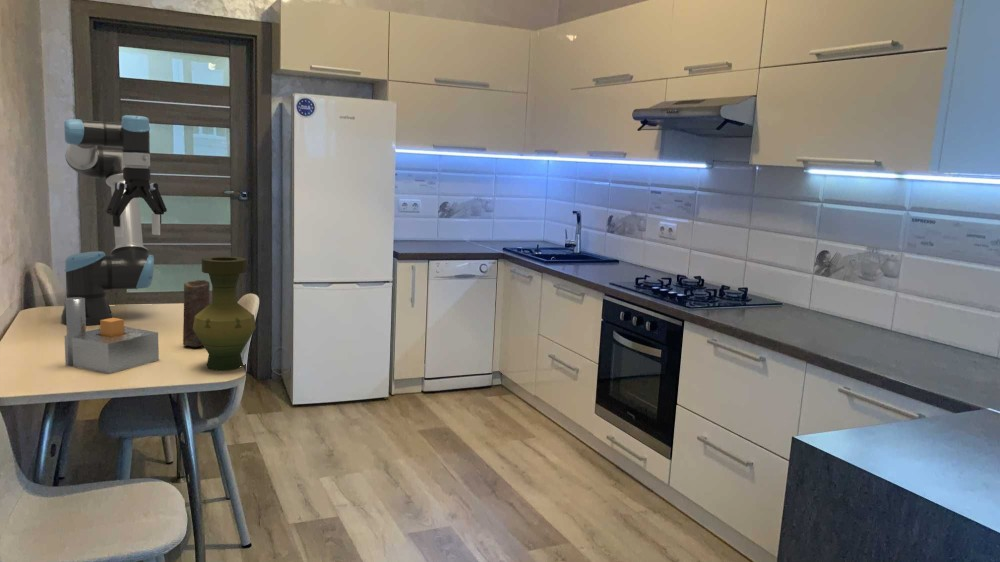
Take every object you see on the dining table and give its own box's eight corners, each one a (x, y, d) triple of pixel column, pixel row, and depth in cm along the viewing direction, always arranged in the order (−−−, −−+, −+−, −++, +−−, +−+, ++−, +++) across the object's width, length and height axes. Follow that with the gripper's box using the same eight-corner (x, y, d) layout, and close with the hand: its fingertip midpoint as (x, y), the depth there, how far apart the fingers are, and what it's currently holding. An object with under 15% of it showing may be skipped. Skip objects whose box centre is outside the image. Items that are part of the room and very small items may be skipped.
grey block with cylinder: (64, 364, 192) (61, 299, 189) (116, 352, 207) (114, 290, 204) (108, 373, 186) (106, 306, 183) (158, 360, 201) (157, 297, 198)
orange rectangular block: (101, 363, 196) (100, 320, 194) (114, 359, 199) (113, 317, 197) (112, 365, 194) (110, 322, 192) (124, 361, 198) (123, 319, 196)
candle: (215, 345, 220) (214, 281, 217) (198, 350, 213) (197, 284, 210) (195, 342, 222) (194, 278, 219) (177, 347, 216) (176, 281, 213)
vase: (267, 362, 205) (267, 258, 200) (234, 376, 189) (233, 264, 185) (216, 356, 208) (215, 253, 204) (180, 370, 193) (178, 259, 188)
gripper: (110, 166, 207) (112, 239, 210) (178, 168, 230) (179, 234, 233) (91, 165, 209) (93, 237, 213) (160, 167, 232) (161, 232, 235)
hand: (138, 236), depth 223 cm, fingers open, 13 cm apart
